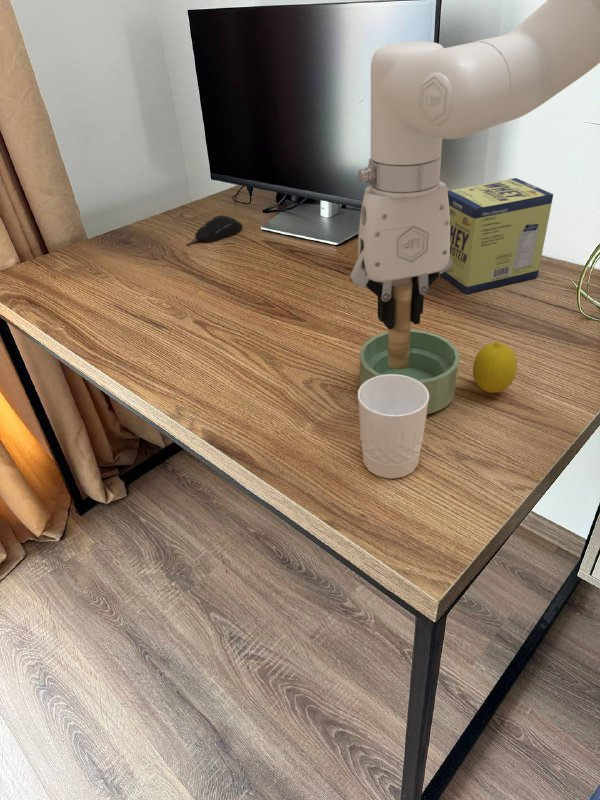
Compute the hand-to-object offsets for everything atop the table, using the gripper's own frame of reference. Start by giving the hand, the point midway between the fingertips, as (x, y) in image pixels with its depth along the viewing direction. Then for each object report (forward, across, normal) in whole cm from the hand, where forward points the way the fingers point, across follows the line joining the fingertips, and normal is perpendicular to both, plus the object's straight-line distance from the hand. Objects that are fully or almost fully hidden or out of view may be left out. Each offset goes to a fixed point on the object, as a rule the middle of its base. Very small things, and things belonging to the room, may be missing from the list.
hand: (399, 320), depth 75 cm
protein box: (+12, +30, +29) cm, 43 cm away
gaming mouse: (+11, -16, +70) cm, 73 cm away
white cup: (+12, -6, -12) cm, 18 cm away
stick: (+7, 0, 0) cm, 7 cm away
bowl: (+12, +2, 0) cm, 12 cm away
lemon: (+12, +12, -4) cm, 17 cm away
